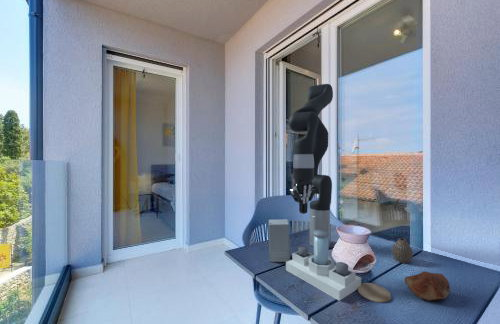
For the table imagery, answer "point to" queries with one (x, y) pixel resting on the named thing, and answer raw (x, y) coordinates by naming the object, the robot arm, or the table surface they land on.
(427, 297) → the fossil
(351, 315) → the table surface
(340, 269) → the plunger
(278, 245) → the skincare box
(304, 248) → the plunger
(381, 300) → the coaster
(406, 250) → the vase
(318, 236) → the cylinder
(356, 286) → the housing
